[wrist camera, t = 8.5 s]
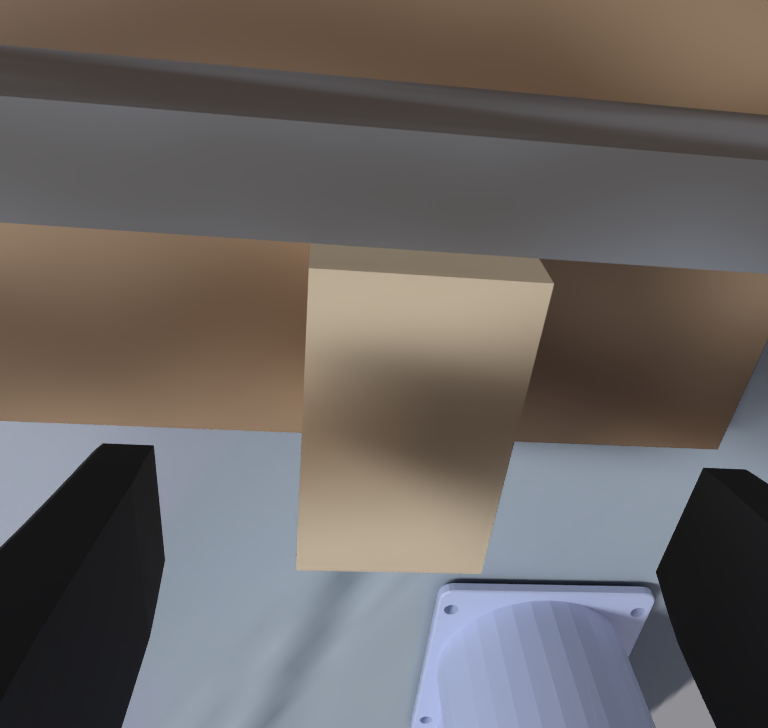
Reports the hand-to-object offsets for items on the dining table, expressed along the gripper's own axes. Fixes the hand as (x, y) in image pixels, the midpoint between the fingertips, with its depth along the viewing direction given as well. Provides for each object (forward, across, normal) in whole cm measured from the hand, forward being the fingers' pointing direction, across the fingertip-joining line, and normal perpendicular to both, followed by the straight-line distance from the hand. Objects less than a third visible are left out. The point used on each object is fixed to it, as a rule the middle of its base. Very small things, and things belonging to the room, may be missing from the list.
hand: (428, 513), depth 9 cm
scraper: (+8, 0, +1) cm, 8 cm away
